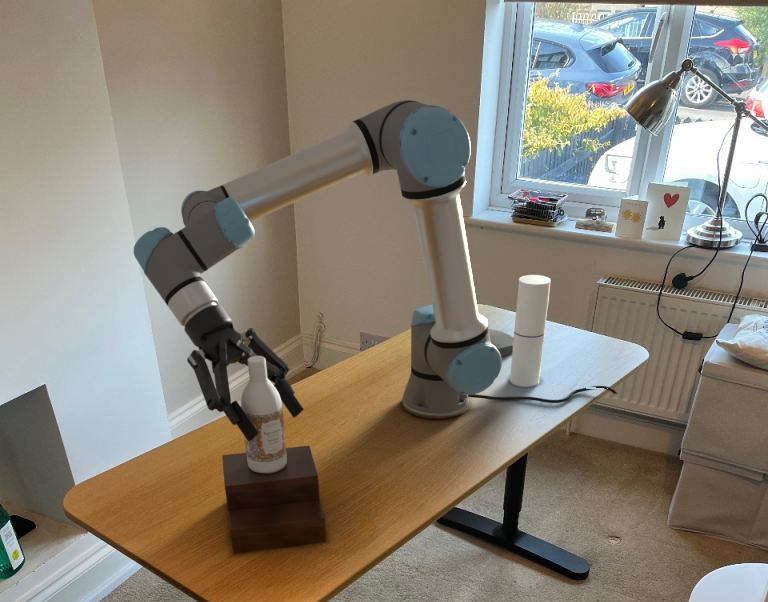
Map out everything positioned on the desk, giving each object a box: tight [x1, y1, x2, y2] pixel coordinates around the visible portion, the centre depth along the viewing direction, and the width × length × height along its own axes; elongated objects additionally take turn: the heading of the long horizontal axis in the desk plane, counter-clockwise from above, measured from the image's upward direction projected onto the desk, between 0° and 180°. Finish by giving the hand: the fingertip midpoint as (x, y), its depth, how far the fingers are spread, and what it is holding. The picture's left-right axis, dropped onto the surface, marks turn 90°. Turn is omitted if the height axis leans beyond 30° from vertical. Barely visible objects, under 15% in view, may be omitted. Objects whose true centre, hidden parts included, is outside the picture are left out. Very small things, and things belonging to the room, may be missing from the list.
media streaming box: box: [488, 328, 514, 357], centre depth 205 cm, size 15×15×3 cm
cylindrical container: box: [509, 274, 552, 388], centre depth 181 cm, size 7×7×25 cm
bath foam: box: [240, 356, 287, 473], centre depth 130 cm, size 7×7×20 cm
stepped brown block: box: [221, 445, 327, 555], centre depth 136 cm, size 16×17×10 cm
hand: (276, 425), depth 129 cm, fingers open, 10 cm apart
